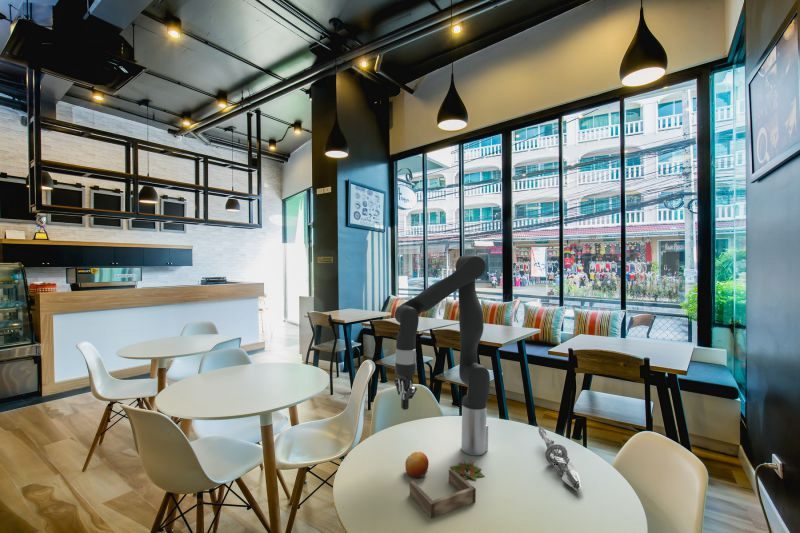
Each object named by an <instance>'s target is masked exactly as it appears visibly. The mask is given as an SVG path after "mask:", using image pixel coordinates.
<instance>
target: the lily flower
mask: <svg viewBox="0 0 800 533" xmlns="http://www.w3.org/2000/svg"><path fill="white" fill-rule="evenodd" d="M466 461H467V459H466V458H464V460H463V461H460V462H459V463H458V465H452V466H449V467H450V468H451V469H453V470H454V471H455V472H456V473H457V474H459V475H460V476H461V477H462V478H464V479H465V480H467V479H469V478H470V479H472V480H474V481H475V482H477V477H484V478H485V477H486V476H485V475H484V474H483V473H482V472H481V470H482V468H480V467H478V466H477V465H475V463H474V461H472V459H470V460H469V461H468V462H466ZM471 461H472V462H471ZM468 472H469V473H468Z"/></svg>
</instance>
